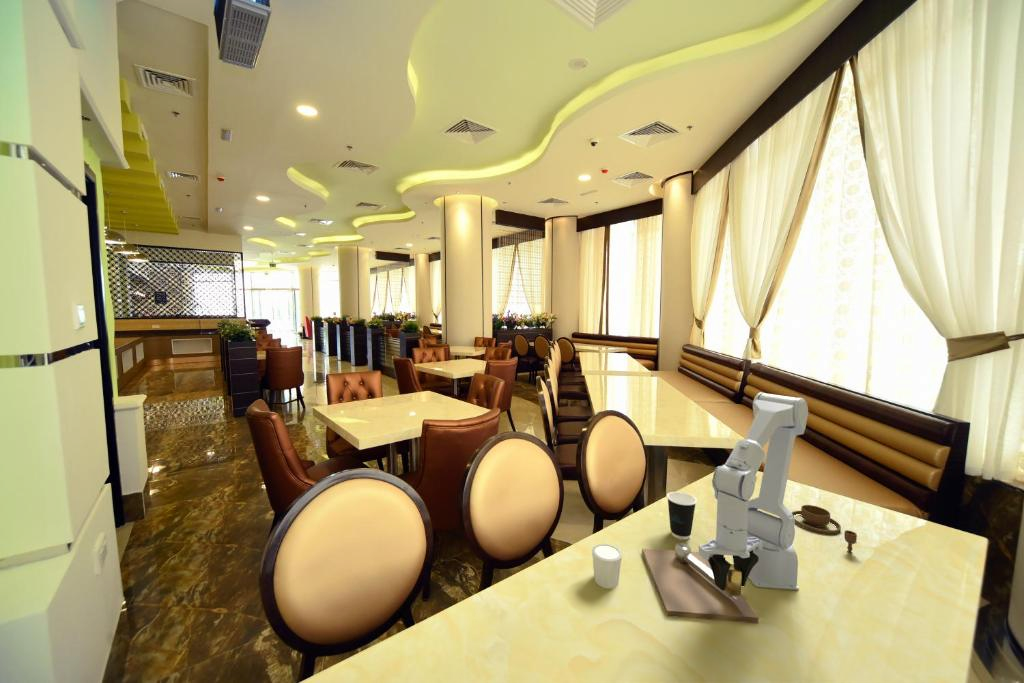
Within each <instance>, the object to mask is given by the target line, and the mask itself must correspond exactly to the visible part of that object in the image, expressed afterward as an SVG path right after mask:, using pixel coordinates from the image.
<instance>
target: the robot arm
mask: <svg viewBox="0 0 1024 683" xmlns="http://www.w3.org/2000/svg"><path fill="white" fill-rule="evenodd" d="M752 410H753V412H752V413H753V417H754V418H753V421H752V423H751V425H750V428H749V431H748V432H747V434H746V437H745V439H741V440H738V441H737V442H736V444H735V446H734V448H732V449H733V450H732V451H731V452H730V454H729V457H728V458H727V460H726V462H725V463H724V464H722V465H719V466H717V467H716V468H715V470H714V471H713V475H712V479H711V484H712V488H713V492H714V499H716V502H717V503H716V530H715V531H716V532H715V537H714V538H713V539H711V540H709V541H708V542H706V543H704V544H700V545H698V552H699V555H700V556H701V557H702V558H704V559H705V560H708V562H709V564H710V566H711V569H712V572H713V576H714V580H715V585H716V586H718V587H719V588H720V589H721V590H725V588H726V582H727V574H728V571H729V569H730V567H731V564H732V563H730V562H729V561H728V560H726V557H725V556H732V560H733V564H734V565H737V566H738V567H740V568H741V569H742V585H741V588H743V587H745V586H746V583H747V580H748V579H749V580H750V581H751V582H752V584H753V585H754V586H755V587H756V588H763V589H764V588H766V589H779V590H780V589H782V590H797V591H798V590H800V587H799V586H798V568H799V567H798V566H799V560H798V554H797V551H796V549H795V547H794V546H793V543H794V541H795V540H794V539H795V537H796V536H795V535H796V530H795V529H796V528H795V524H796V523H795V519H796V517H795V518H794V516H793V515H792V512H791V511H790V510H789V509H788V507H787V506H785V504H784V498H785V495H786V494H785V493H786V488H787V481H788V477H789V471H790V467H791V466H790V465H791V460H792V457H793V456H792V454H793V450H794V445H795V440H796V437H797V436H800V435H804V434H805V430H806V428H807V427H806V426H807V422H808V418H809V417H808V416H809V408H808V403H807V401H806V400H805V399H804V398H803V397H794V396H785V395H781V394H780V395H779V394H773V393H765V392H761V391H760V392H758V393H757V394H756V395H755V396H754V398H753V402H752ZM767 443H768V446H767V451H766V452H765V450H764V447H765V446H766V445H767ZM764 460H765V461H764ZM763 462H765V463H764V468H763V473H762V477H761V483H760V488H759V494H758V496H757V497H755V498H752V496H753V495H754V492H755V487H756V483H757V479H758V477H757V472H758V471H759V469H760V468H761V465H762V464H763Z"/></svg>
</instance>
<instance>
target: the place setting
mask: <svg viewBox="0 0 1024 683" xmlns="http://www.w3.org/2000/svg"><path fill="white" fill-rule="evenodd" d="M791 513H792V515H793V516H794V515H796V514H801V515H802V516H801V518H802V520H804V521H805V522H806V523H807V522H808V523H809V524H808V523H807V524H808V525H807V524H805V523H802V522H801V521H799V520H797V519H796V518H795V524H796V523H797V524H798V526H799V525H800V526H799V527H801V528H803V527H804V529H806V530H807V531H810V530H811V532H814V533H817V532H818V534H823V535H835V534H838V533H839V532H841V530H842V526H841V524H840V523H839V521H837V520H834V519H833V518H831V512H829V510H827V509H825V508H822V507H820V506H817V505H812V504H803V505H801V509H800V510H794V511H792V512H791ZM829 522H830V523H829ZM831 523H832V524H834V525H835V526H836V527H835V526H834V525H833V526H834V527H835V528H837V529H835V530H833V529H831V530H829V529H821V528H823V527H825V526H829V524H831ZM797 524H796V525H797ZM810 524H811V526H809V525H810ZM832 524H831V525H832ZM812 526H813V527H812ZM815 526H816V527H815ZM857 535H858V534H857V533H856V532H855V531H851V530H849V529H848V530H844V541H845V542H846V543H847V544H848V545H847V547H846V548H847V551H846V553H848V554H851V555H852V554H854V553H853V545H854V544H856V543H857V537H858V536H857Z"/></svg>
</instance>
